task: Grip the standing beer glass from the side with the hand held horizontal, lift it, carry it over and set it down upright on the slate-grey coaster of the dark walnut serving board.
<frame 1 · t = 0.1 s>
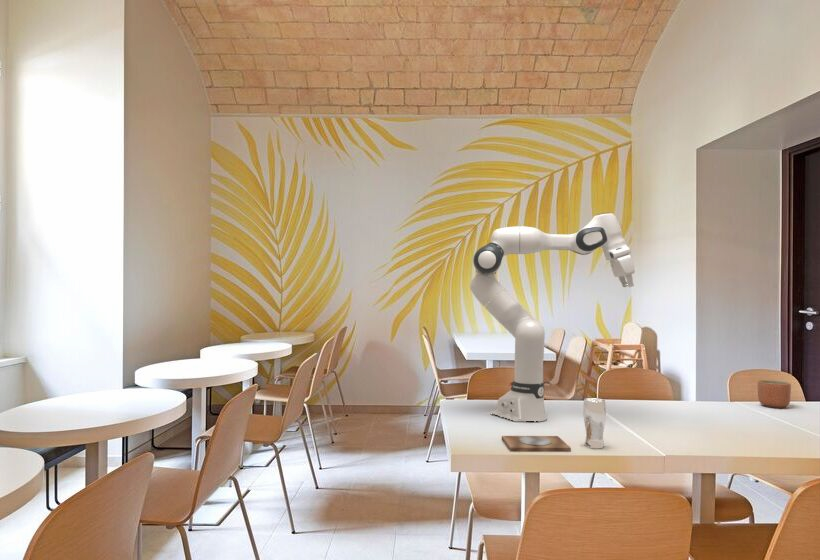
hand: (628, 286, 216), 52 cm above the table, tool tilted 20°, fingers open, 8 cm apart
beer glass: (594, 447, 181), on the table
walnut board: (534, 445, 182), on the table
planter: (773, 407, 248), on the table
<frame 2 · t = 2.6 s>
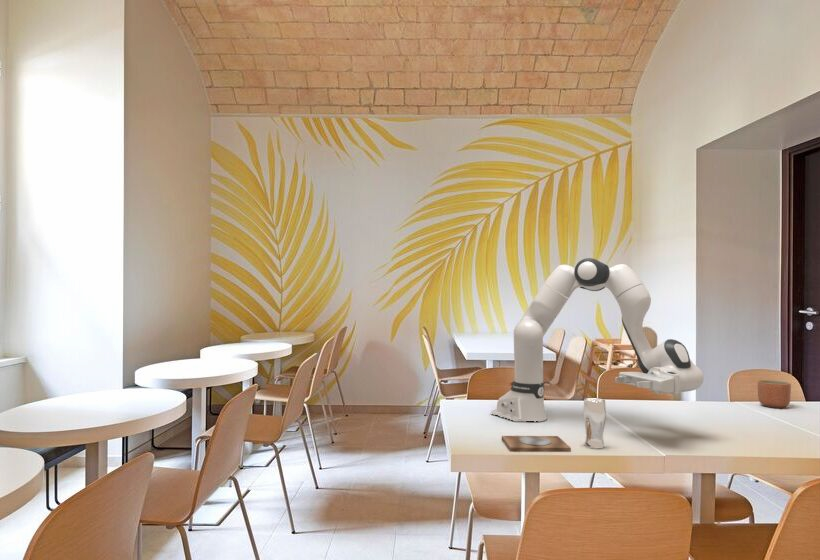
hand: (626, 382, 185), 20 cm above the table, tool horizontal, fingers open, 8 cm apart
nothing on the table moved.
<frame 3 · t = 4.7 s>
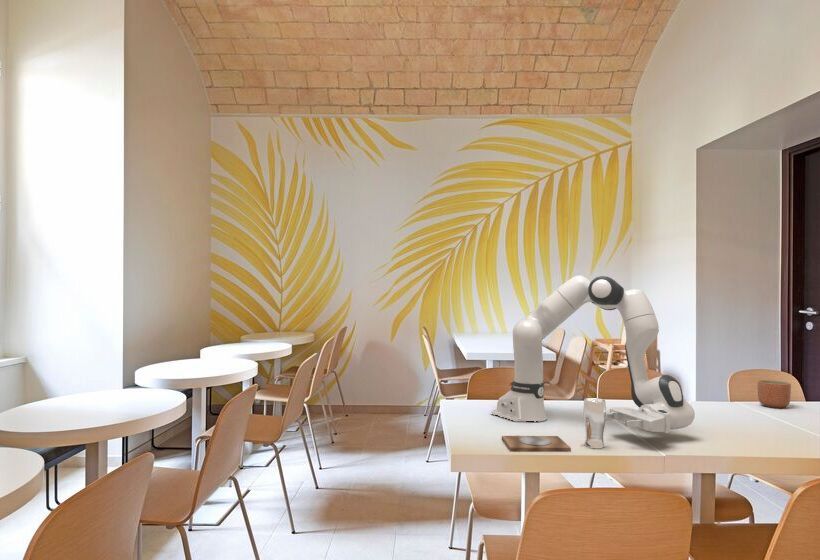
hand: (616, 420, 184), 8 cm above the table, tool horizontal, fingers open, 8 cm apart
nothing on the table moved.
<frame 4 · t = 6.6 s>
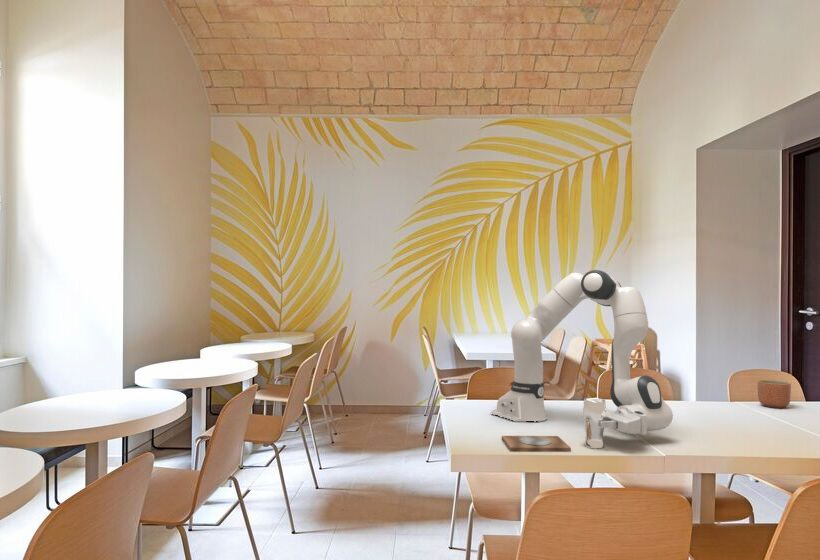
hand: (592, 421, 181), 8 cm above the table, tool horizontal, fingers closed on beer glass, 6 cm apart
beer glass: (594, 447, 181), on the table, touching gripper
everything else where it was.
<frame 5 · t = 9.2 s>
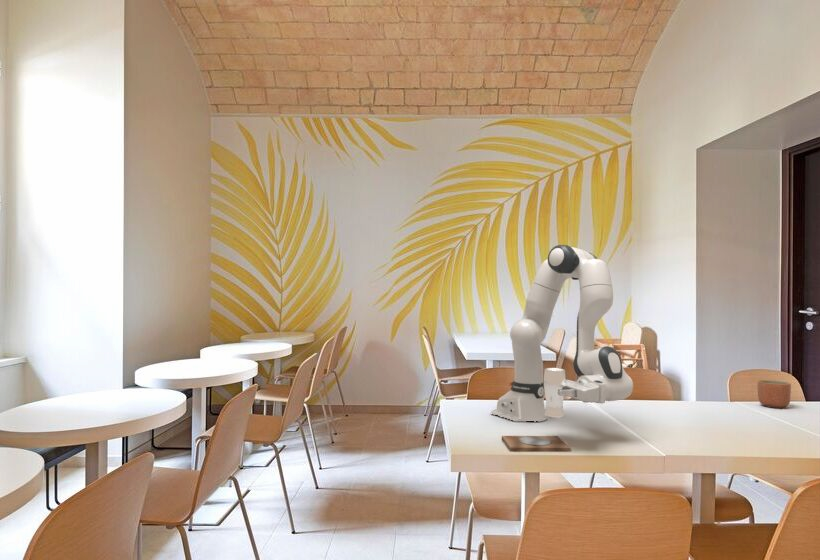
hand: (552, 390, 182), 18 cm above the table, tool horizontal, fingers closed on beer glass, 6 cm apart
beer glass: (554, 416, 182), point 9 cm above the table, touching gripper
everything else where it was.
when the fingers open (10 cm above the table, at t = 11.7 s): beer glass stays where it is, resting on walnut board.
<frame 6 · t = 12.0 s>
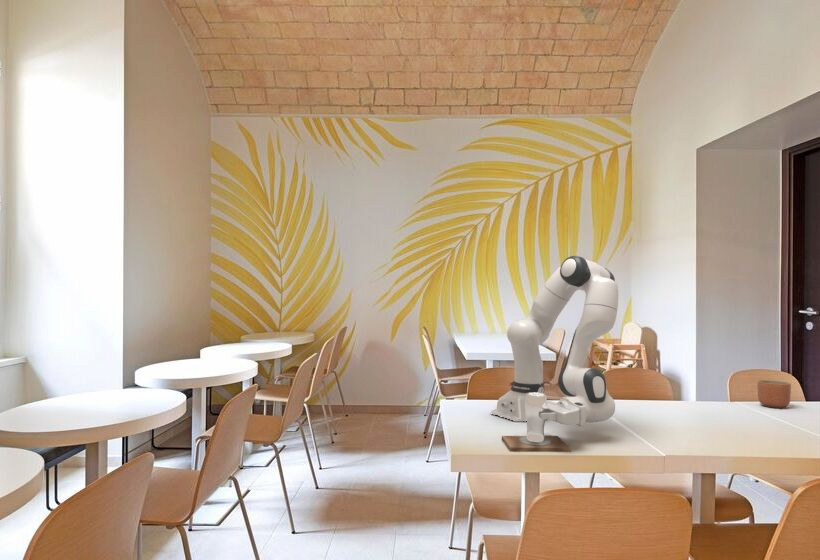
hand: (532, 412, 182), 10 cm above the table, tool horizontal, fingers open, 8 cm apart
beer glass: (535, 441, 182), point 1 cm above the table, touching walnut board
everything else where it was.
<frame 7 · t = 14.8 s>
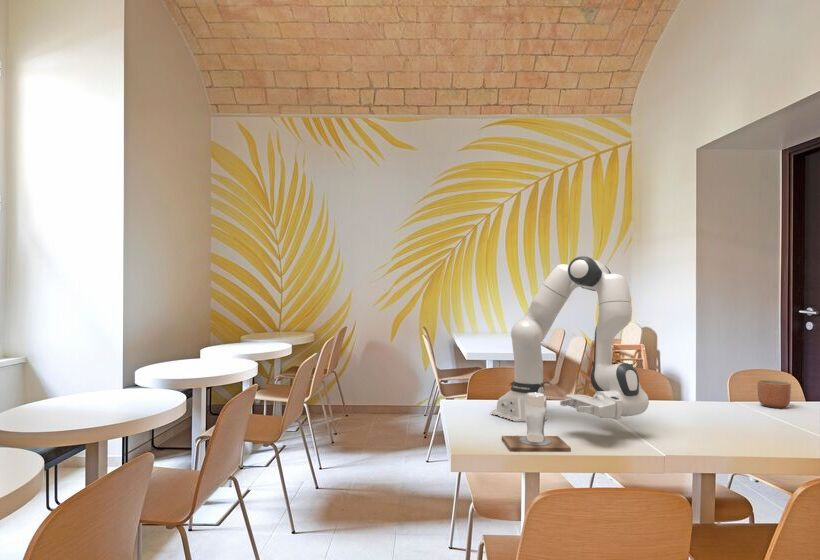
hand: (569, 406, 186), 12 cm above the table, tool horizontal, fingers open, 8 cm apart
nothing on the table moved.
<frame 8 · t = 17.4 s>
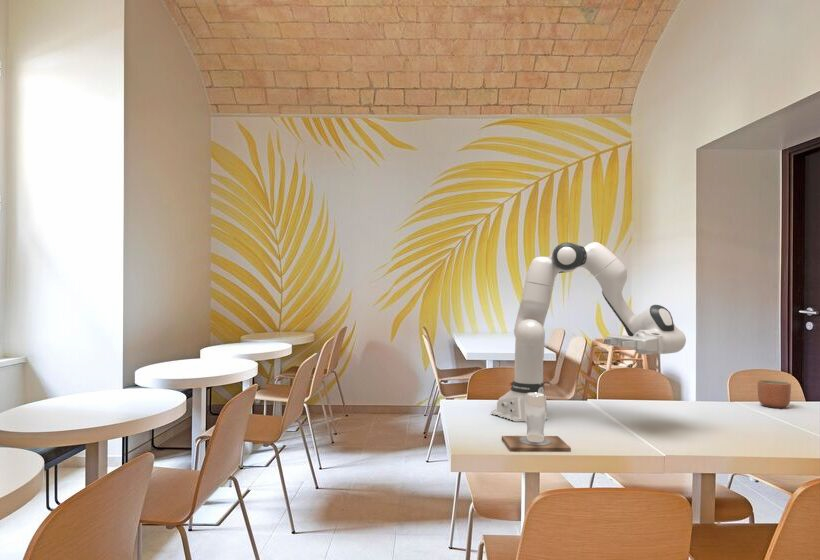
hand: (612, 342, 198), 32 cm above the table, tool horizontal, fingers open, 8 cm apart
nothing on the table moved.
at the end: beer glass 0.1 cm from the walnut board (horizontally); beer glass point 1.3 cm above the table; beer glass tilted 0° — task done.
